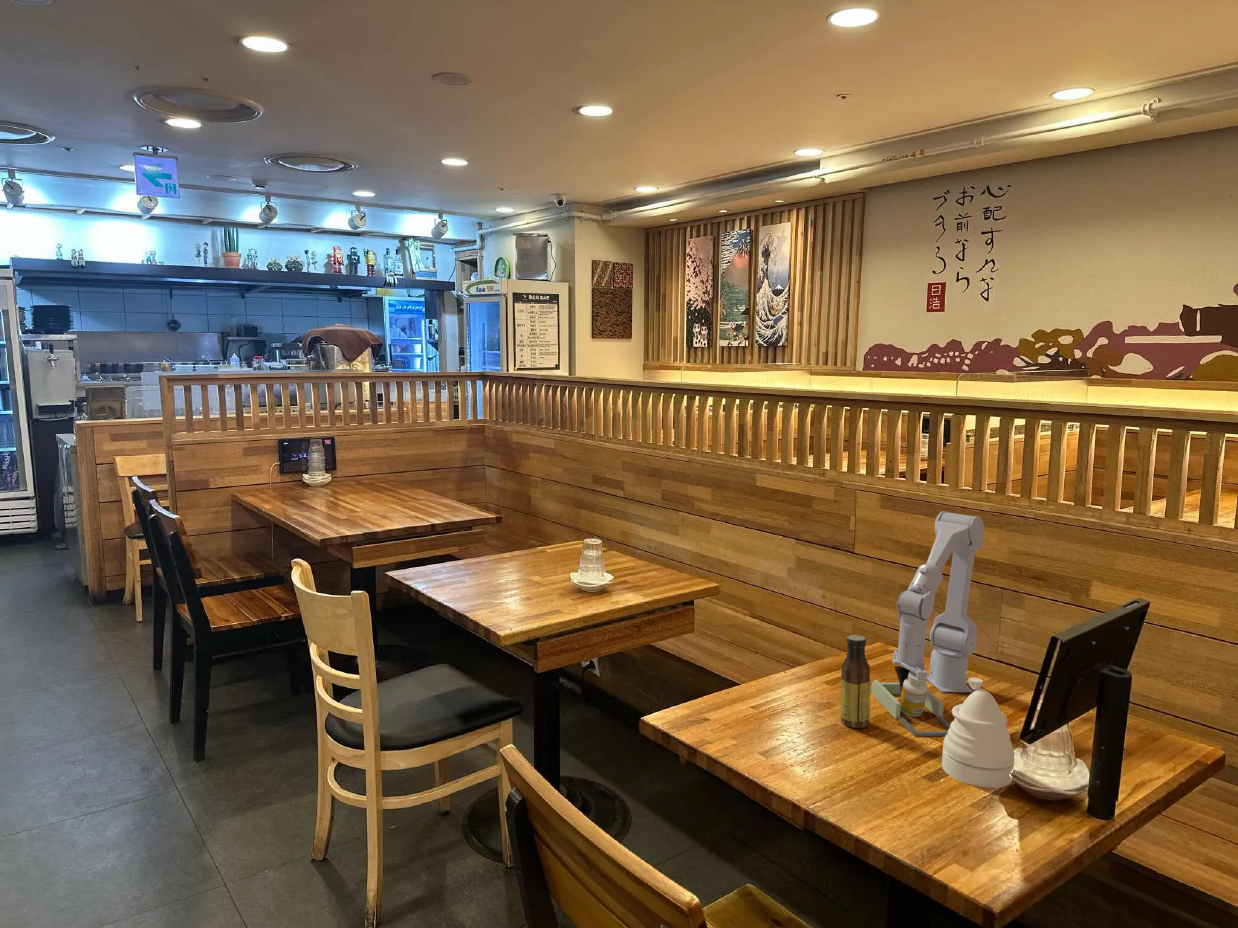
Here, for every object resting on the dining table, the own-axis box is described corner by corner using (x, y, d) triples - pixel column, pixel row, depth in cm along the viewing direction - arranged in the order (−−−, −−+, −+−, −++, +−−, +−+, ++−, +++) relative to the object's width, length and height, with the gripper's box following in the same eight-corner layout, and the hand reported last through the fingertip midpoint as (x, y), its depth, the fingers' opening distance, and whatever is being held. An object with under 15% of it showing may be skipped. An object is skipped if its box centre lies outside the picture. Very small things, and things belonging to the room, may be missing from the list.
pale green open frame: (871, 692, 200) (872, 678, 199) (915, 692, 200) (915, 678, 200) (895, 718, 185) (896, 703, 184) (942, 718, 185) (943, 703, 185)
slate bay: (898, 719, 184) (898, 716, 184) (941, 719, 185) (941, 716, 185) (914, 736, 176) (914, 733, 176) (959, 735, 176) (959, 733, 176)
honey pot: (927, 761, 164) (933, 675, 162) (977, 752, 169) (983, 668, 167) (976, 792, 152) (982, 700, 150) (1028, 781, 157) (1035, 691, 155)
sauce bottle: (866, 718, 184) (870, 633, 182) (871, 730, 178) (876, 642, 176) (836, 716, 185) (841, 631, 183) (841, 728, 179) (846, 640, 176)
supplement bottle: (903, 698, 192) (910, 664, 188) (926, 708, 189) (933, 674, 185) (894, 710, 188) (902, 675, 185) (917, 720, 185) (925, 685, 182)
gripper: (883, 631, 196) (879, 685, 198) (906, 652, 181) (901, 711, 183) (912, 632, 196) (907, 686, 198) (937, 653, 182) (932, 711, 183)
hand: (906, 698), depth 190 cm, fingers closed, pressing on supplement bottle
